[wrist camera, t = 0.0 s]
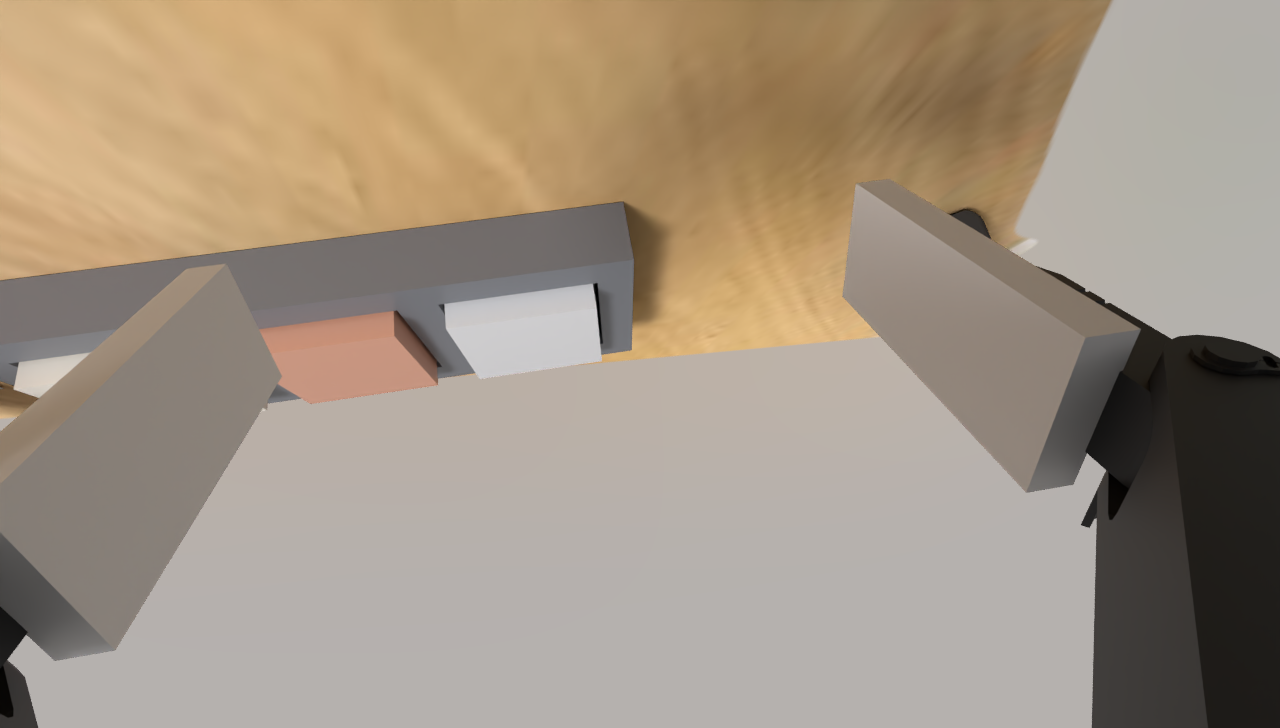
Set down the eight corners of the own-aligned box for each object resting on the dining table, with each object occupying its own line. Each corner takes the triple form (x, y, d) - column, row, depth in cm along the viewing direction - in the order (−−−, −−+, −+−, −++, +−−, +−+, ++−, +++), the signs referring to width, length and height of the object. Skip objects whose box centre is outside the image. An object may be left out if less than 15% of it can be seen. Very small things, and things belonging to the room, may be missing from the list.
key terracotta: (238, 311, 36) (235, 358, 35) (393, 291, 37) (394, 336, 36) (311, 365, 45) (310, 403, 44) (436, 347, 45) (438, 385, 44)
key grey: (443, 284, 37) (446, 328, 36) (589, 264, 38) (596, 307, 37) (476, 341, 46) (479, 379, 45) (596, 324, 46) (601, 361, 45)
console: (-59, 288, 34) (-76, 355, 32) (623, 201, 37) (634, 259, 35) (132, 374, 47) (126, 424, 45) (623, 305, 50) (631, 350, 48)
